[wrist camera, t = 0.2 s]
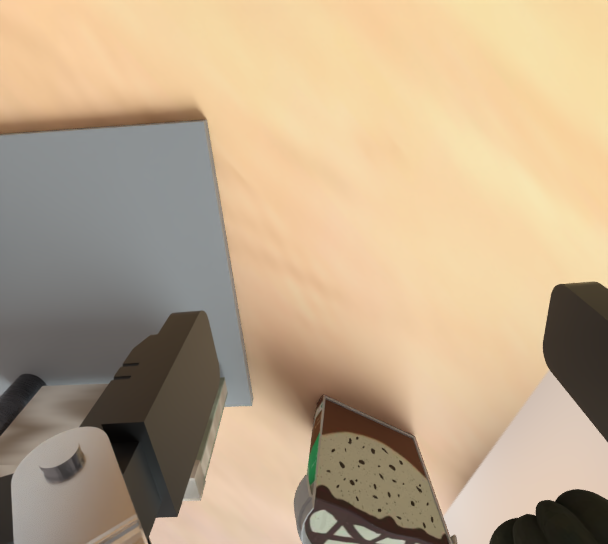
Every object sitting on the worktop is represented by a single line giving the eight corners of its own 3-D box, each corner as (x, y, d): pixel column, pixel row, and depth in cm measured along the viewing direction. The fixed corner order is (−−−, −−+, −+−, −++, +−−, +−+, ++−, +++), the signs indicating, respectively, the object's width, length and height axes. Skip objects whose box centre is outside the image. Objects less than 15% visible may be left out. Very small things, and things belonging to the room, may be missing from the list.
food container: (272, 432, 36) (258, 554, 27) (307, 387, 34) (304, 505, 25) (387, 481, 39) (409, 607, 30) (428, 442, 36) (465, 567, 27)
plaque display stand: (-130, 143, 25) (-409, 195, 16) (206, 119, 24) (133, 160, 14) (11, 406, 35) (-105, 539, 26) (253, 398, 34) (228, 534, 24)
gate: (49, 401, 33) (-32, 505, 25) (40, 381, 32) (-47, 483, 24) (228, 395, 32) (200, 500, 24) (224, 375, 31) (194, 478, 23)
